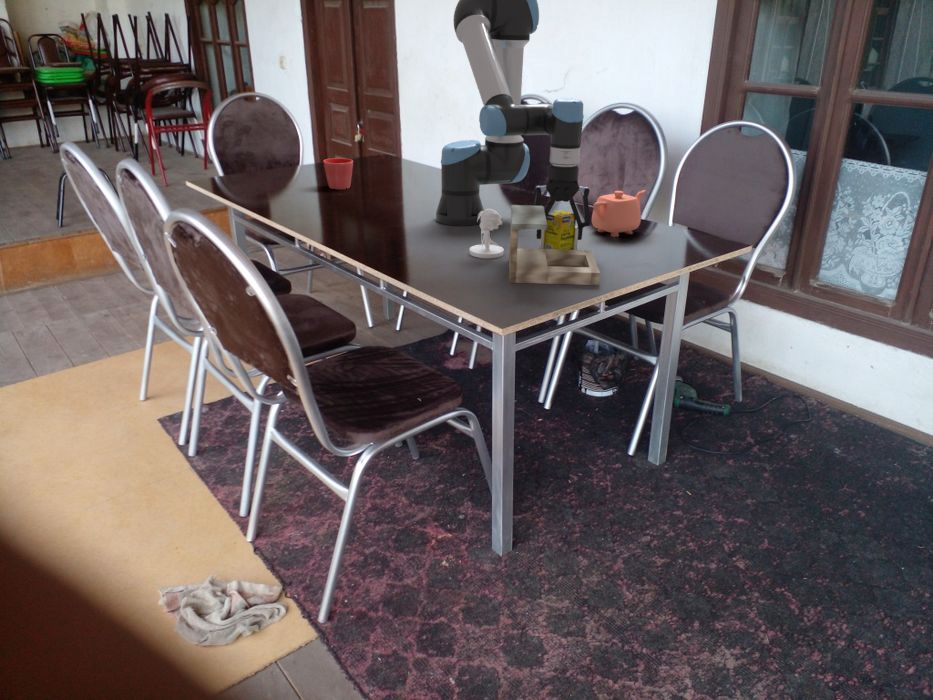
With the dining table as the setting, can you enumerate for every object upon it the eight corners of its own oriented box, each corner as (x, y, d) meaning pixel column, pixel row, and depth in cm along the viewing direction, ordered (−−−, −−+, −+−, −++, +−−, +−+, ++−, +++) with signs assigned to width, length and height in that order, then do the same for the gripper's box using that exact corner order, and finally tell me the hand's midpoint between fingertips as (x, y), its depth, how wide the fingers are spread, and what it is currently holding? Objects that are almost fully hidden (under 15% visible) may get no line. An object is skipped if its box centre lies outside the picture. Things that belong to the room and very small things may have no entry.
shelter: (509, 282, 166) (511, 223, 160) (509, 259, 182) (511, 205, 176) (598, 285, 165) (604, 225, 159) (590, 261, 181) (595, 207, 175)
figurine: (468, 248, 191) (468, 204, 186) (501, 248, 191) (502, 204, 186) (471, 258, 182) (471, 213, 177) (505, 258, 183) (507, 212, 178)
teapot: (606, 241, 199) (610, 199, 193) (577, 231, 207) (581, 191, 202) (655, 231, 209) (660, 191, 204) (626, 222, 218) (630, 183, 212)
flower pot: (360, 186, 261) (359, 159, 256) (340, 191, 252) (339, 164, 248) (339, 183, 266) (337, 156, 262) (318, 187, 257) (316, 160, 253)
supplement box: (558, 258, 183) (561, 217, 179) (542, 253, 187) (544, 212, 183) (573, 254, 187) (577, 213, 182) (557, 249, 191) (559, 209, 186)
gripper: (523, 165, 174) (518, 254, 184) (607, 167, 173) (599, 256, 183) (522, 160, 181) (518, 245, 191) (603, 162, 180) (595, 248, 190)
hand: (558, 250), depth 187 cm, fingers closed on supplement box, 8 cm apart
